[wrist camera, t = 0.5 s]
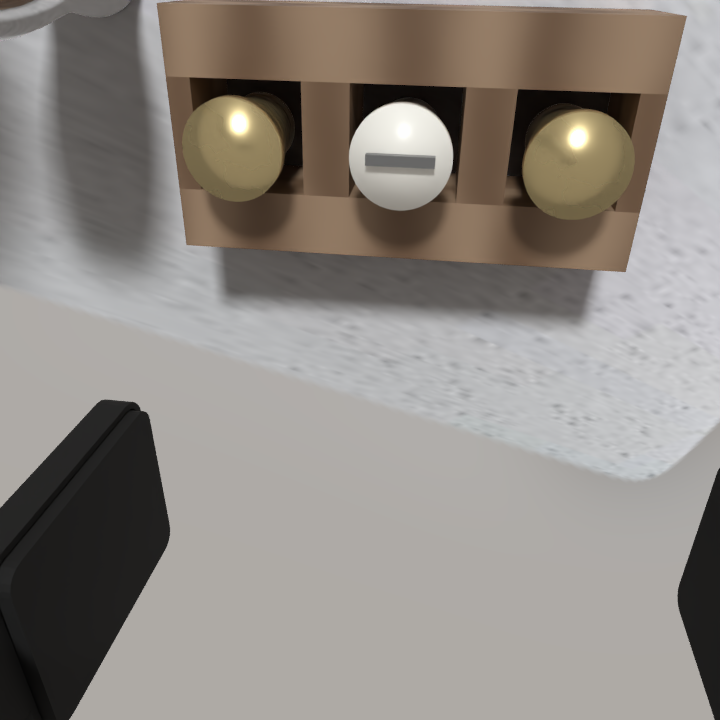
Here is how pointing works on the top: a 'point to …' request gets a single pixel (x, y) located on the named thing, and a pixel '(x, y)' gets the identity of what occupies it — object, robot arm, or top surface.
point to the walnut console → (424, 68)
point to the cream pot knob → (401, 155)
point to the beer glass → (49, 13)
